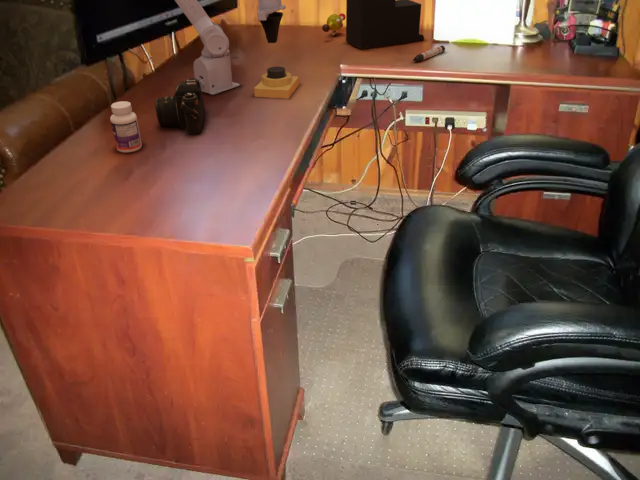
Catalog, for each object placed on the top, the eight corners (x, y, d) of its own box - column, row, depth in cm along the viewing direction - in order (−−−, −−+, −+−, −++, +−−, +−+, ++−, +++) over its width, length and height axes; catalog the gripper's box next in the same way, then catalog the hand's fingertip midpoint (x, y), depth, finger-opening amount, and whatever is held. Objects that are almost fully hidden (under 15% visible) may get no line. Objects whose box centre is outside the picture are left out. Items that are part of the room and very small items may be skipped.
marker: (439, 51, 189) (439, 44, 188) (444, 52, 188) (445, 45, 187) (410, 63, 180) (410, 56, 179) (415, 64, 179) (416, 57, 178)
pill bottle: (119, 143, 135) (110, 100, 130) (144, 142, 135) (136, 99, 130) (114, 153, 130) (104, 109, 125) (140, 152, 131) (131, 108, 125)
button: (282, 80, 158) (282, 72, 157) (265, 79, 159) (264, 71, 158) (287, 74, 162) (287, 66, 160) (270, 73, 162) (270, 66, 161)
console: (288, 98, 157) (287, 83, 155) (254, 96, 158) (253, 81, 156) (299, 84, 166) (298, 69, 164) (267, 82, 167) (266, 68, 165)
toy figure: (333, 42, 200) (333, 21, 196) (317, 41, 202) (317, 20, 198) (351, 29, 214) (351, 9, 210) (336, 28, 216) (336, 8, 212)
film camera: (150, 115, 148) (143, 74, 143) (200, 107, 153) (195, 67, 147) (166, 142, 135) (159, 98, 129) (221, 132, 139) (216, 89, 134)
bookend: (406, 33, 208) (410, -43, 195) (424, 40, 200) (430, -39, 187) (345, 42, 200) (345, -36, 187) (361, 50, 192) (362, -31, 179)
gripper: (275, -7, 149) (279, 50, 156) (291, -18, 161) (294, 35, 168) (247, -7, 150) (252, 49, 158) (265, -19, 162) (269, 34, 170)
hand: (272, 42), depth 163 cm, fingers closed
